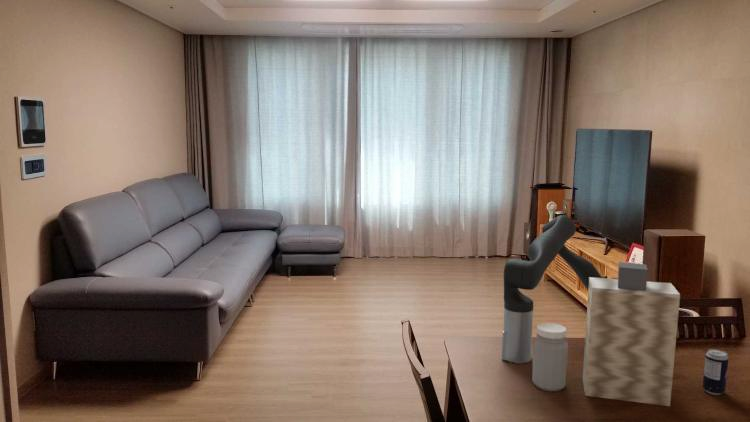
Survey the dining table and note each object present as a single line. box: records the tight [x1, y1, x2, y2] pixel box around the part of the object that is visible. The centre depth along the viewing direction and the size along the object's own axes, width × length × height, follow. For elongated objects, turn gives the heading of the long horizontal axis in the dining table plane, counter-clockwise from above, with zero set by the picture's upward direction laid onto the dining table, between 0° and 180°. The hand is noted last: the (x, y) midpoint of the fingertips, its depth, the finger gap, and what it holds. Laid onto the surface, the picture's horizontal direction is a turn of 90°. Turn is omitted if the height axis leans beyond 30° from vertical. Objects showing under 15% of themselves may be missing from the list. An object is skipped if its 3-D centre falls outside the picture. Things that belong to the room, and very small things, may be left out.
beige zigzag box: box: [582, 277, 681, 407], centre depth 163 cm, size 22×11×32 cm, turn 74°
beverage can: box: [701, 348, 730, 396], centre depth 165 cm, size 6×6×12 cm
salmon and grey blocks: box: [617, 261, 648, 291], centre depth 165 cm, size 20×7×6 cm, turn 159°
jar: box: [531, 322, 569, 392], centre depth 168 cm, size 10×10×18 cm
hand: (620, 279), depth 182 cm, fingers open, 8 cm apart
